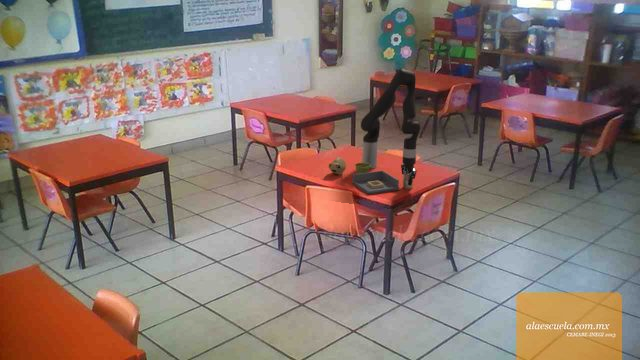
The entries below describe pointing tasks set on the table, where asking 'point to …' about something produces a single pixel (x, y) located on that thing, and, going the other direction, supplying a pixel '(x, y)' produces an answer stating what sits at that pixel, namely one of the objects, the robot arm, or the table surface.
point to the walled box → (375, 182)
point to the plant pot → (362, 167)
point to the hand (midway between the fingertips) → (407, 183)
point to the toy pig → (337, 166)
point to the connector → (406, 181)
